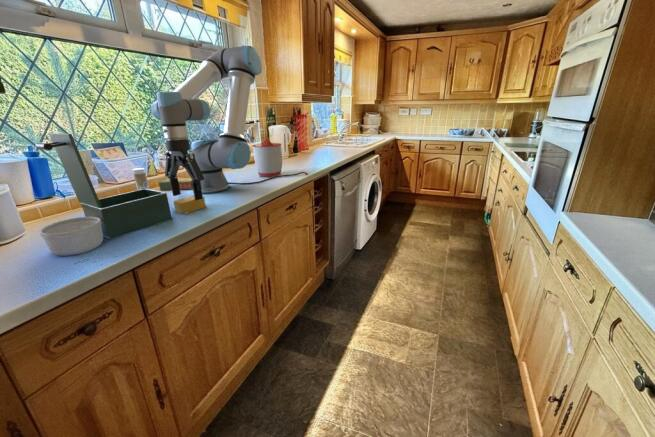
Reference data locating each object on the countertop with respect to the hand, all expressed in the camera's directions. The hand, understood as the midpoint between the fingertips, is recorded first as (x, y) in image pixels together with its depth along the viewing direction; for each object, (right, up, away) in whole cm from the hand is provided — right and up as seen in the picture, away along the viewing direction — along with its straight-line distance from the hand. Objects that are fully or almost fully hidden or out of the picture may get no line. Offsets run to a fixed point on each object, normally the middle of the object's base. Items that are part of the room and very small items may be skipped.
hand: (187, 197), depth 113 cm
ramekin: (-17, -16, -28) cm, 37 cm away
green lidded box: (-12, -10, -12) cm, 20 cm away
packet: (0, -4, +2) cm, 5 cm away
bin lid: (-19, +6, -28) cm, 34 cm away
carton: (-20, +7, +35) cm, 41 cm away
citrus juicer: (+20, +16, +57) cm, 62 cm away
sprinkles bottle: (-26, 0, +17) cm, 31 cm away
